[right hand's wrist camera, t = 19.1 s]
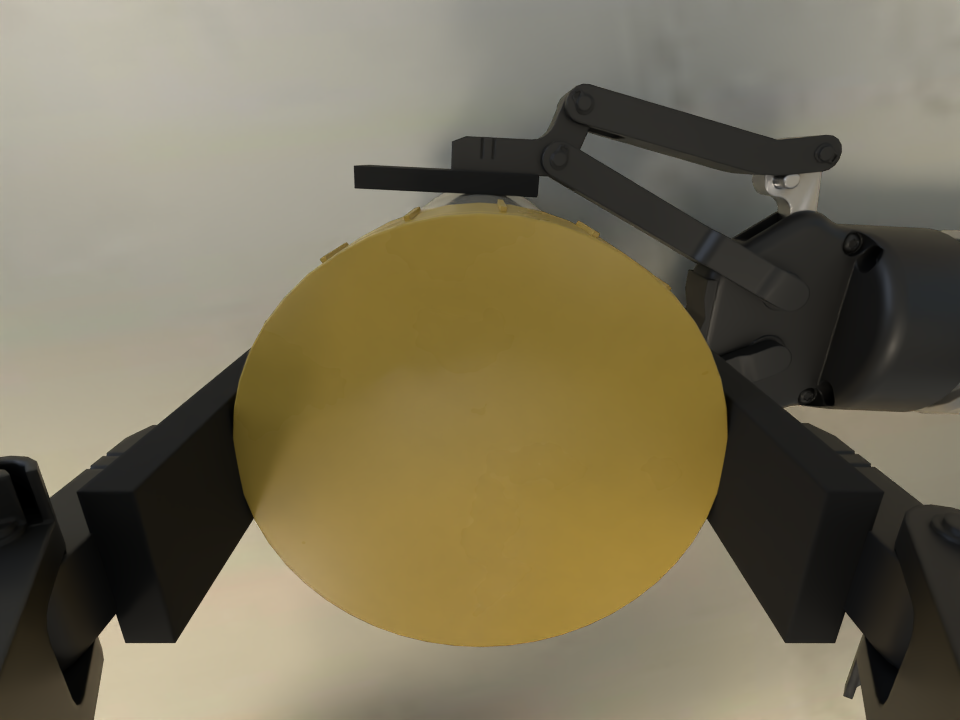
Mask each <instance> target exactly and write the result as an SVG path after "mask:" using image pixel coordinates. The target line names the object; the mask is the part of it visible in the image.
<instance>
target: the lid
mask: <svg viewBox="0 0 960 720" xmlns="http://www.w3.org/2000/svg"><path fill="white" fill-rule="evenodd" d="M599 235H600V233H598V232H597V231H595V230H594V229H592V228H590V227H589V226H587V225H585V224H584V223H582V222H580V221H578V222H577V223H576V224H574V223H572V222H570V221H568V220H565V219H562V218H559V217H557V216H554V215H551V214H548V213H545V212H542V211H539V210H534V209H529V208H524V207H519V206H515V205H508V204H505V203H504V201H503V200H500V199H498V202H497V204H493V203H467V204H454V205H446V206H441V207H436V208H431V209H427V210H422V211H421V210H420V207H417V208H414V209H413V210H412V211H410V212H409V213H408V214H406V215H405V216H404V217H401V218H398V219H396V220H393V221H390V222H388V223H386V224H385V225H383V226H381V227H379V228H377V229H375V230H373V231H371V232H369V233H367V234H366V235H364V236H362V237H361V238H359V239H358V240H356V241H355V242H353V243H351V244H350V245H348V243H347V242H346V243H344V244H343V245H341V246H340V247H338V248H336V249H335V250H333V251H331V252H330V253H328V254H327V255H325V256H323V257H322V258H321V259H320V260H321V262H322V264H321V265H320V266H318V267H317V268H316V269H314V270H313V271H311V272H310V273H309V274H308V275H307V276H306V277H304V278H303V279H302V280H301V281H300V282H299V283H298V284H297V285H296V286H295V287H294V288H293V289H292V290H291V291H290V292H289V293H288V294H287V295H286V296H285V297H284V298H283V300H282V301H281V302H280V304H279V305H278V306H277V307H276V309H275V310H274V311H273V313H272V314H271V315H270V317H269V318H268V319H267V320H266V321H265V323H264V325H263V327H262V329H261V331H260V333H259V334H258V336H257V338H256V340H255V342H254V344H253V346H252V347H251V349H250V351H249V354H248V357H247V359H246V362H245V365H244V368H243V371H242V374H241V376H240V379H239V384H238V389H237V395H236V400H235V405H234V417H233V441H234V447H235V453H236V458H237V464H238V469H239V474H240V479H241V484H242V489H243V493H244V496H245V499H246V501H247V503H248V505H249V508H250V510H251V512H252V515H253V517H254V519H255V521H256V523H257V524H258V526H259V528H260V529H261V531H262V533H263V534H264V536H265V538H266V539H267V541H268V543H269V544H270V545H271V546H272V548H273V549H274V550H275V551H276V553H277V554H278V555H279V557H280V558H281V559H282V560H283V562H284V563H285V564H286V565H287V566H288V567H289V568H290V569H291V570H292V571H293V572H294V573H295V574H296V575H297V576H298V577H299V578H300V579H301V580H302V581H303V582H304V583H305V584H307V585H308V586H309V587H310V588H312V589H313V590H314V591H315V592H317V593H318V594H319V595H321V596H322V597H323V598H324V599H326V600H327V601H329V602H330V603H332V604H334V605H335V606H337V607H339V608H340V609H342V610H343V611H345V612H347V613H348V614H350V615H352V616H354V617H356V618H358V619H361V620H363V621H365V622H367V623H369V624H371V625H373V626H376V627H378V628H381V629H384V630H387V631H390V632H392V633H395V634H398V635H401V636H405V637H409V638H413V639H418V640H422V641H426V642H432V643H439V644H446V645H453V646H472V647H489V646H508V645H515V644H522V643H529V642H535V641H539V640H543V639H547V638H551V637H555V636H559V635H563V634H566V633H568V632H571V631H574V630H577V629H579V628H582V627H585V626H588V625H590V624H592V623H594V622H596V621H598V620H600V619H602V618H604V617H606V616H608V615H610V614H612V613H614V612H616V611H617V610H619V609H621V608H622V607H624V606H625V605H627V604H629V603H630V602H632V601H633V600H635V599H636V598H638V597H639V596H640V595H641V594H643V593H644V592H645V591H646V590H648V589H649V588H650V587H652V586H653V585H654V584H655V583H657V582H658V581H659V580H660V579H661V578H662V577H663V576H664V575H665V574H666V573H667V572H668V571H669V570H670V569H671V568H672V567H673V566H674V565H675V564H676V563H677V561H678V560H679V559H680V557H681V556H682V555H683V554H684V552H685V551H686V550H687V548H688V547H689V546H690V545H691V543H692V542H693V541H694V539H695V537H696V535H697V534H698V532H699V530H700V529H701V527H702V525H703V524H704V522H705V520H706V519H707V516H708V514H709V512H710V509H711V507H712V505H713V502H714V500H715V497H716V495H717V492H718V487H719V482H720V478H721V473H722V467H723V462H724V457H725V451H726V445H727V440H728V428H727V407H726V402H725V397H724V391H723V386H722V381H721V377H720V375H719V372H718V369H717V366H716V363H715V361H714V358H713V355H712V352H711V350H710V348H709V346H708V344H707V342H706V341H705V339H704V337H703V335H702V333H701V332H700V330H699V328H698V326H697V324H696V322H695V321H694V320H693V318H692V317H691V316H690V315H689V313H688V312H687V311H686V309H685V308H684V307H683V305H682V304H681V303H680V302H679V300H678V299H677V298H676V296H675V295H674V294H673V293H672V292H671V291H670V290H671V287H670V286H669V285H668V284H666V283H665V282H663V281H662V280H660V279H659V278H657V277H656V276H654V275H653V274H652V273H651V272H649V271H648V270H647V269H645V268H644V267H642V266H641V265H640V264H638V263H637V262H635V261H634V260H633V259H631V258H630V257H628V256H627V255H626V254H624V253H623V252H621V251H620V250H618V249H617V248H615V247H614V246H612V245H611V244H609V243H607V242H606V241H604V240H603V239H601V238H600V237H599Z"/></svg>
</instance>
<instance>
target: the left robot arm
mask: <svg viewBox="0 0 960 720" xmlns="http://www.w3.org/2000/svg"><path fill="white" fill-rule="evenodd" d="M588 132H589V133H592V134H596V135H599V136H602V137H606V138H609V139H613V140H616V141H620V142H623V143H627V144H630V145H634V146H637V147H641V148H644V149H648V150H651V151H655V152H658V153H662V154H665V155H669V156H672V157H675V158H679V159H682V160H686V161H689V162H693V163H696V164H700V165H703V166H707V167H710V168H714V169H717V170H721V171H725V172H730V173H739V174H753V177H752V182H753V186H754V189H755V190H756V191H757V192H758V193H759V194H761V195H767V196H770V197H772V198H774V200H775V201H776V203H777V205H778V211H777V212H775V213H773V214H772V215H770V216H768V217H767V218H765V219H763V220H762V221H760V222H758V223H757V224H755V225H753V226H752V227H750V228H748V229H747V230H745V231H743V232H742V233H740V234H738V235H737V236H735V237H733V238H732V239H730V238H729V237H727V236H725V235H723V234H721V233H719V232H717V231H715V230H713V229H711V228H709V227H707V226H706V225H704V224H702V223H701V222H699V221H697V220H696V219H694V218H692V217H691V216H689V215H687V214H686V213H684V212H682V211H681V210H679V209H677V208H676V207H674V206H672V205H671V204H669V203H667V202H666V201H664V200H663V199H661V198H659V197H658V196H656V195H654V194H653V193H651V192H649V191H648V190H646V189H644V188H643V187H641V186H639V185H638V184H636V183H634V182H633V181H631V180H629V179H628V178H626V177H624V176H623V175H621V174H619V173H618V172H616V171H614V170H613V169H611V168H609V167H608V166H606V165H604V164H603V163H601V162H599V161H598V160H596V159H594V158H593V157H591V156H589V155H588V154H586V153H584V152H583V151H581V150H580V148H581V146H582V144H583V142H584V139H585V137H586V135H587V133H588ZM841 153H842V145H841V143H840V141H839V139H838V138H836V137H835V136H831V135H819V136H805V137H791V138H780V139H773V138H769V137H766V136H763V135H759V134H756V133H752V132H749V131H746V130H742V129H739V128H736V127H732V126H729V125H726V124H722V123H719V122H715V121H712V120H709V119H705V118H702V117H699V116H695V115H692V114H688V113H685V112H682V111H678V110H675V109H672V108H668V107H665V106H661V105H658V104H655V103H651V102H648V101H645V100H641V99H638V98H634V97H631V96H628V95H624V94H621V93H618V92H614V91H611V90H607V89H604V88H601V87H597V86H594V85H591V84H581V85H578V86H576V87H575V88H573V89H572V90H571V91H569V92H568V93H567V94H565V95H564V96H563V97H562V98H561V99H560V101H559V103H558V105H557V110H556V112H555V115H554V117H553V119H552V122H551V124H550V126H549V128H548V130H547V132H546V133H545V134H544V135H543V136H542V137H540V138H539V139H533V140H529V139H510V138H490V137H471V136H466V137H463V138H460V139H458V140H455V141H452V164H451V169H439V168H419V167H400V166H380V165H359V166H354V182H355V188H360V189H380V190H400V191H420V192H440V193H460V194H480V195H500V196H521V197H538V185H539V176H548V177H550V178H551V179H553V180H555V181H557V182H558V183H560V184H562V185H563V186H565V187H567V188H569V189H570V190H572V191H574V192H575V193H577V194H579V195H581V196H582V197H584V198H586V199H587V200H589V201H591V202H593V203H594V204H596V205H598V206H599V207H601V208H603V209H605V210H606V211H608V212H610V213H611V214H613V215H615V216H617V217H618V218H620V219H622V220H623V221H625V222H627V223H629V224H630V225H632V226H634V227H635V228H637V229H639V230H641V231H642V232H644V233H646V234H647V235H649V236H651V237H653V238H654V239H656V240H658V241H659V242H661V243H663V244H665V245H666V246H668V247H670V248H671V249H673V250H674V251H676V252H677V253H679V254H681V255H683V256H684V257H686V258H688V259H689V260H691V261H693V262H695V263H696V264H697V265H696V267H695V268H694V270H688V276H687V281H686V286H685V290H686V303H687V305H686V308H685V309H686V311H687V312H688V313H689V315H690V316H691V317H692V318H693V320H694V321H695V322H696V324H697V326H698V328H699V330H700V332H701V333H702V335H703V337H704V339H705V341H706V342H707V344H708V346H709V348H710V349H712V350H713V351H714V352H715V353H716V354H718V355H719V356H720V357H721V358H723V359H724V360H725V361H726V362H727V363H729V364H730V365H731V366H732V367H733V368H735V369H736V370H737V371H738V372H740V373H741V374H742V375H743V376H744V377H746V378H747V379H748V380H749V381H750V382H752V383H753V384H754V385H755V386H757V387H758V388H759V389H760V390H761V391H763V392H764V393H765V394H766V395H767V396H769V397H770V398H771V399H772V400H774V401H775V402H776V403H777V404H778V405H780V406H781V407H782V408H784V407H788V406H793V405H803V406H810V407H817V408H826V409H845V410H870V411H894V412H907V411H916V412H920V413H935V414H960V230H942V231H938V230H933V229H927V228H910V227H889V226H869V225H849V224H836V223H834V222H832V221H831V220H829V219H828V218H827V217H826V216H824V215H823V214H821V213H819V212H817V205H818V198H819V190H820V182H821V174H822V172H823V171H826V170H829V169H830V168H832V167H833V166H835V165H836V163H837V162H838V160H839V159H840V156H841Z"/></svg>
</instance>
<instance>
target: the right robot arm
mask: <svg viewBox="0 0 960 720" xmlns="http://www.w3.org/2000/svg"><path fill="white" fill-rule="evenodd" d="M250 349H251V348H250ZM250 349H249V350H248V351H247V352H245V353H244V354H243V355H242V356H240V357H239V358H238V359H237V360H236V361H234V362H233V363H232V364H231V365H230V366H228V367H227V368H226V369H225V370H223V371H222V372H221V373H220V374H219V375H217V376H216V377H215V378H214V379H213V380H211V381H210V382H209V383H208V384H206V385H205V386H204V387H203V388H202V389H200V390H199V391H198V392H197V393H196V394H194V395H193V396H192V397H191V398H189V399H188V400H187V401H186V402H185V403H183V404H182V405H181V406H180V407H179V408H177V409H176V410H175V411H174V412H172V413H171V414H170V415H169V416H168V417H166V418H165V419H164V420H163V421H162V422H160V423H159V424H158V425H152V426H150V427H148V428H146V429H144V430H141V431H139V432H137V433H135V434H133V435H131V436H129V437H127V438H125V439H124V440H123V441H122V442H120V443H119V444H118V445H116V446H115V447H114V448H113V449H111V450H110V451H109V452H108V453H107V456H102V457H101V458H100V459H99V460H97V461H96V462H95V463H94V464H92V465H91V468H90V469H86V470H85V471H83V472H82V473H81V474H80V475H78V476H77V477H76V478H75V479H73V480H72V481H71V482H69V483H68V484H67V485H66V486H64V487H63V488H62V489H61V490H59V491H58V492H57V493H55V494H54V495H53V496H52V497H50V498H49V495H48V492H47V489H46V486H45V483H44V481H43V478H42V475H41V472H40V469H39V466H38V463H37V461H35V460H33V459H31V458H29V457H22V456H6V457H0V720H94V715H95V709H96V703H97V697H98V691H99V685H100V679H101V673H102V667H103V661H104V658H103V651H102V647H101V644H100V641H99V638H98V636H99V634H100V633H101V632H102V631H103V629H104V628H105V627H106V626H107V624H108V623H109V622H110V621H111V619H112V618H113V617H114V616H115V614H116V615H117V618H118V622H119V625H120V628H121V631H122V634H123V637H124V640H125V643H176V641H177V639H178V638H179V636H180V635H181V633H182V631H183V630H184V628H185V627H186V625H187V624H188V622H189V620H190V619H191V617H192V616H193V614H194V612H195V611H196V609H197V608H198V606H199V604H200V603H201V601H202V600H203V598H204V597H205V595H206V593H207V592H208V590H209V589H210V587H211V585H212V584H213V582H214V581H215V579H216V577H217V576H218V574H219V573H220V571H221V570H222V568H223V566H224V565H225V563H226V562H227V560H228V558H229V557H230V555H231V554H232V552H233V550H234V549H235V547H236V546H237V544H238V543H239V541H240V539H241V538H242V536H243V535H244V533H245V531H246V530H247V528H248V527H249V525H250V523H251V522H252V520H253V519H254V517H253V515H252V512H251V510H250V508H249V505H248V503H247V501H246V499H245V496H244V493H243V489H242V484H241V479H240V474H239V469H238V464H237V458H236V453H235V447H234V441H233V417H234V405H235V400H236V395H237V389H238V384H239V379H240V376H241V374H242V371H243V368H244V365H245V362H246V359H247V357H248V354H249V351H250ZM710 350H711V352H712V355H713V358H714V361H715V363H716V366H717V369H718V372H719V375H720V377H721V381H722V386H723V391H724V397H725V402H726V407H727V428H728V440H727V445H726V451H725V457H724V462H723V467H722V473H721V478H720V482H719V487H718V492H717V495H716V497H715V500H714V502H713V505H712V507H711V509H710V512H709V514H708V516H707V519H708V521H709V523H710V524H711V526H712V527H713V529H714V531H715V532H716V534H717V535H718V537H719V538H720V540H721V542H722V543H723V545H724V546H725V548H726V550H727V551H728V553H729V554H730V556H731V558H732V559H733V561H734V562H735V564H736V565H737V567H738V569H739V570H740V572H741V573H742V575H743V577H744V578H745V580H746V581H747V583H748V585H749V586H750V588H751V589H752V591H753V592H754V594H755V596H756V597H757V599H758V600H759V602H760V604H761V605H762V607H763V608H764V610H765V612H766V613H767V615H768V616H769V618H770V619H771V621H772V623H773V624H774V626H775V627H776V629H777V631H778V632H779V634H780V635H781V637H782V639H783V640H784V642H785V643H835V642H836V639H837V636H838V633H839V630H840V627H841V624H842V621H843V617H844V614H845V612H846V613H847V614H848V616H849V617H850V618H851V619H852V621H853V622H854V623H855V624H856V626H857V627H858V628H859V629H860V630H861V632H862V633H863V635H862V638H861V641H860V644H859V647H858V650H857V652H856V655H855V658H854V661H853V664H852V667H851V670H850V672H849V675H848V678H847V681H846V684H845V689H844V695H843V696H845V697H847V698H850V699H853V696H854V693H855V690H856V688H857V687H858V686H860V685H861V689H862V695H863V701H864V707H865V713H866V720H960V510H959V509H955V508H951V507H945V506H938V505H923V504H922V503H920V502H919V501H918V500H916V499H915V498H914V497H913V496H911V495H910V494H909V493H907V492H906V491H905V490H904V489H902V488H901V487H900V486H898V485H897V484H896V483H895V482H893V481H892V480H891V479H890V478H888V477H887V476H886V475H884V474H883V473H882V472H881V471H879V470H878V469H877V468H875V467H871V464H870V463H869V462H868V461H866V460H865V459H864V458H863V457H861V456H860V455H859V454H855V453H854V452H855V451H854V450H852V449H851V448H850V447H849V446H847V445H846V444H845V443H843V442H842V441H841V440H840V439H838V438H837V437H836V436H834V435H832V434H830V433H828V432H826V431H823V430H821V429H819V428H817V427H815V426H813V425H811V424H809V423H800V422H799V421H798V420H797V419H795V418H794V417H793V416H792V415H791V414H789V413H788V412H787V411H786V410H784V409H783V408H782V407H781V406H780V405H778V404H777V403H776V402H775V401H774V400H772V399H771V398H770V397H769V396H767V395H766V394H765V393H764V392H763V391H761V390H760V389H759V388H758V387H757V386H755V385H754V384H753V383H752V382H750V381H749V380H748V379H747V378H746V377H744V376H743V375H742V374H741V373H740V372H738V371H737V370H736V369H735V368H733V367H732V366H731V365H730V364H729V363H727V362H726V361H725V360H724V359H723V358H721V357H720V356H719V355H718V354H716V353H715V352H714V351H713V350H712V349H710Z"/></svg>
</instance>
